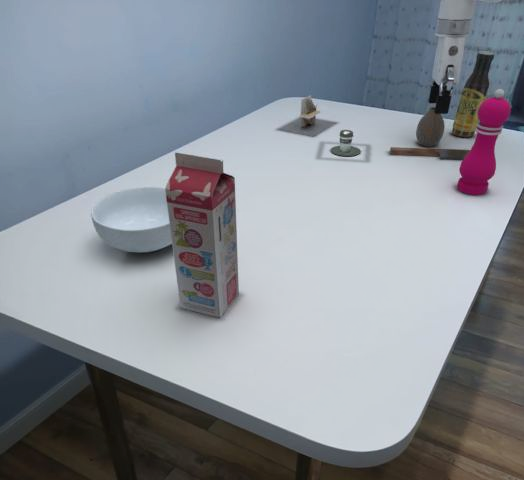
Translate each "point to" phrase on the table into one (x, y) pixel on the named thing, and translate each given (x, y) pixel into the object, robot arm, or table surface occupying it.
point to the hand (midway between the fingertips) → (437, 108)
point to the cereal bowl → (133, 219)
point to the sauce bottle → (473, 96)
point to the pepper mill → (484, 146)
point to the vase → (430, 128)
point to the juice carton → (203, 234)
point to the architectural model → (307, 120)
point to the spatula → (431, 152)
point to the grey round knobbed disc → (345, 145)
